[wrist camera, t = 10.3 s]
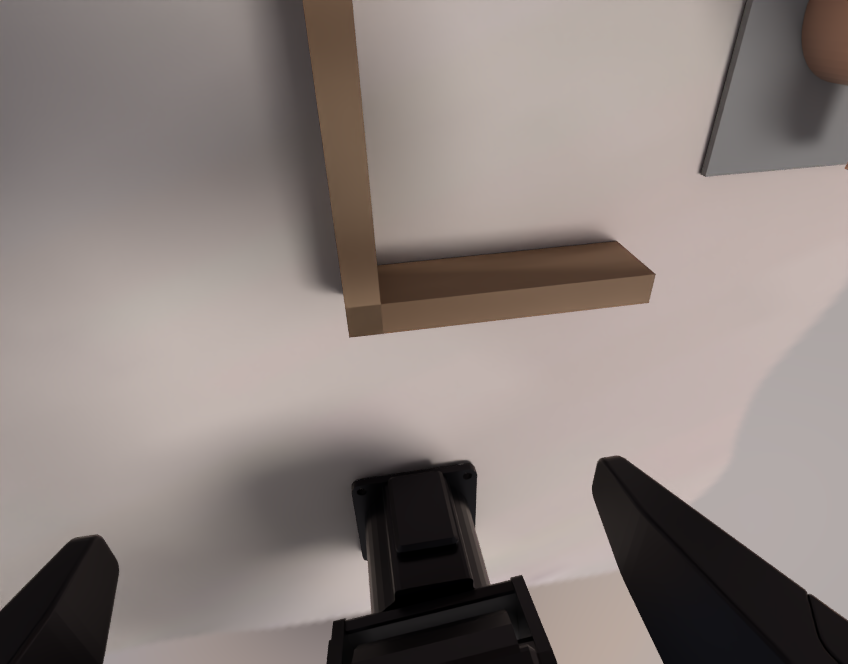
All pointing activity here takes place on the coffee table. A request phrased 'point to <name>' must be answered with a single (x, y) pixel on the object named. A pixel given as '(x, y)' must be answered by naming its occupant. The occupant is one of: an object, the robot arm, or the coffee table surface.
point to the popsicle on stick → (826, 40)
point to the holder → (442, 278)
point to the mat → (776, 100)
